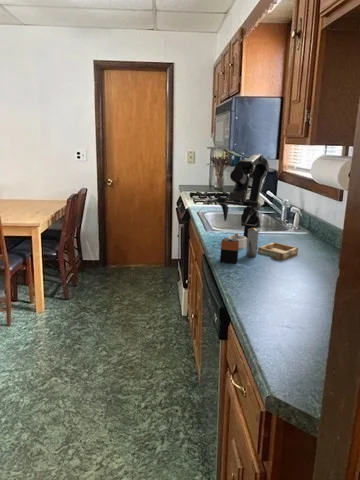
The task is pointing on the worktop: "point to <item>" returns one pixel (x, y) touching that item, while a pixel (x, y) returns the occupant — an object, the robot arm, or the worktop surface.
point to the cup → (240, 241)
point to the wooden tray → (278, 250)
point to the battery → (229, 250)
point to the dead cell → (237, 236)
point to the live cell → (252, 242)
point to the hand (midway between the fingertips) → (234, 222)
